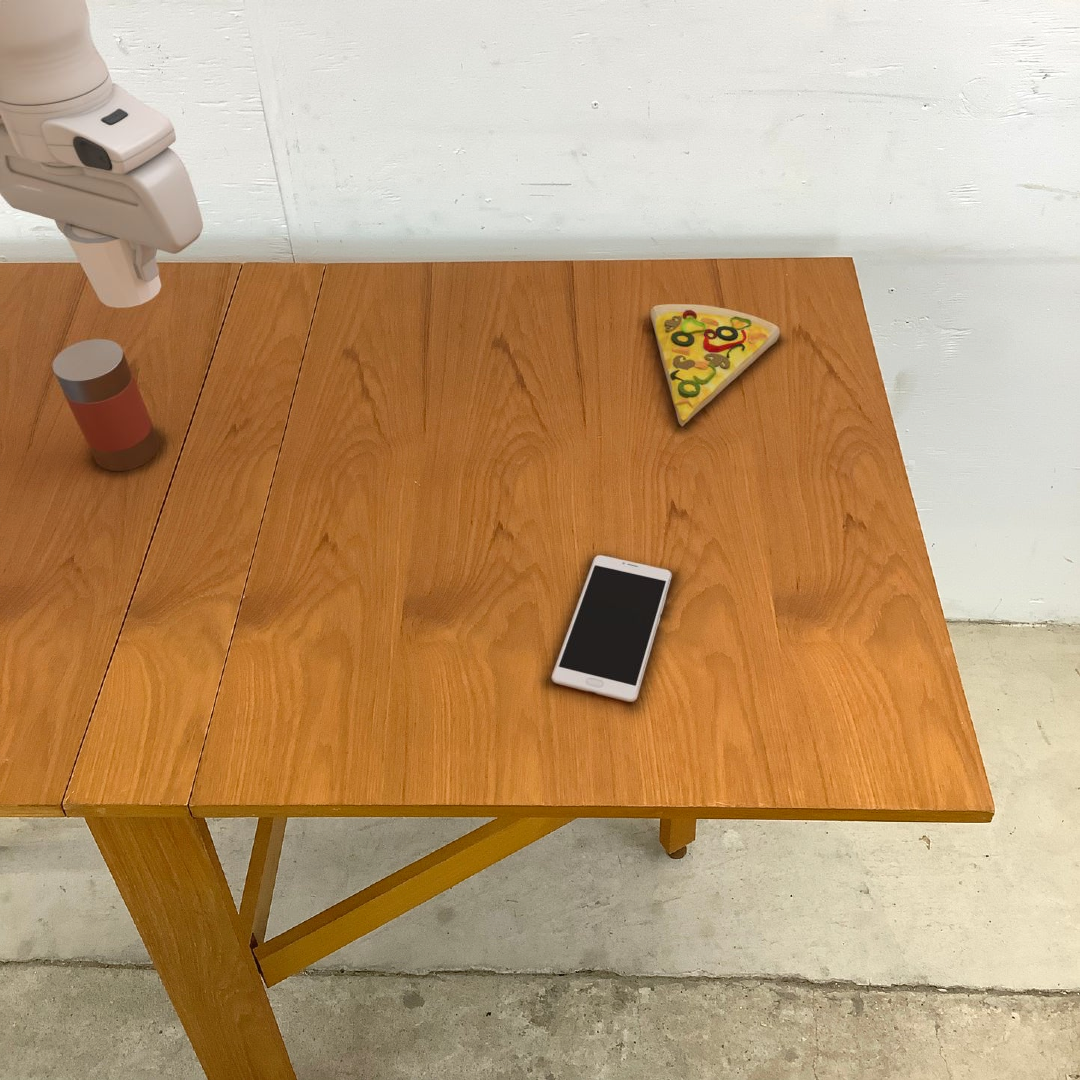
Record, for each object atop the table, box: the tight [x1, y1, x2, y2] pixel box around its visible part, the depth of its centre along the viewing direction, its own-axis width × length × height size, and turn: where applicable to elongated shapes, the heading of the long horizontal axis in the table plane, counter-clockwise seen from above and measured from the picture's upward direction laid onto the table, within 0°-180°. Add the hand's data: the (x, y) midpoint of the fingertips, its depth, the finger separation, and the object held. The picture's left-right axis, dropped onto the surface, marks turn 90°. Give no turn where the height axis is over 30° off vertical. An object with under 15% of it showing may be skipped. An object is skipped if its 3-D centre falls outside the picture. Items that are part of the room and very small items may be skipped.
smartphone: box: [551, 554, 673, 703], centre depth 87 cm, size 8×1×15 cm
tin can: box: [52, 338, 160, 472], centre depth 100 cm, size 7×7×12 cm
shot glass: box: [64, 223, 162, 309], centre depth 88 cm, size 7×7×7 cm
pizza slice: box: [650, 303, 781, 427], centre depth 111 cm, size 16×21×3 cm
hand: (121, 269), depth 89 cm, fingers closed on shot glass, 5 cm apart
